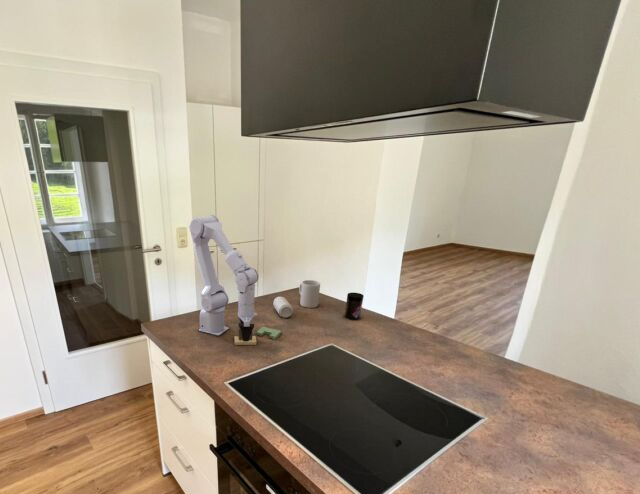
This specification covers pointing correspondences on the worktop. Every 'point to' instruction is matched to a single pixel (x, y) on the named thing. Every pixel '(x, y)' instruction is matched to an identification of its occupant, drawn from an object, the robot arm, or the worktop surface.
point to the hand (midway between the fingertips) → (245, 336)
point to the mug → (309, 293)
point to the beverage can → (283, 307)
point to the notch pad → (269, 332)
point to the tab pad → (240, 341)
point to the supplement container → (353, 306)
